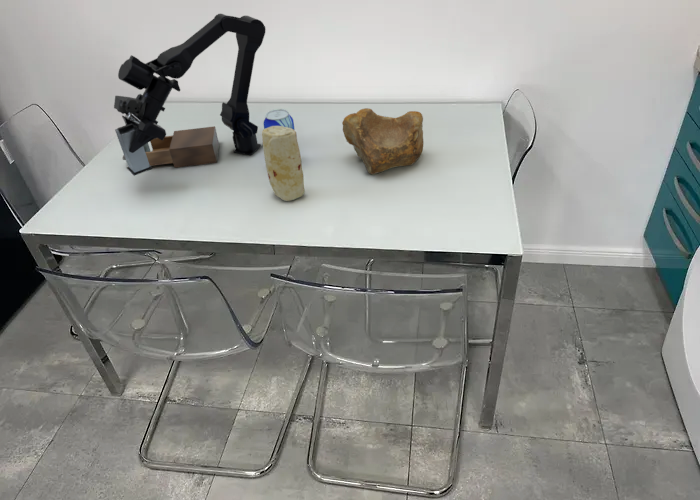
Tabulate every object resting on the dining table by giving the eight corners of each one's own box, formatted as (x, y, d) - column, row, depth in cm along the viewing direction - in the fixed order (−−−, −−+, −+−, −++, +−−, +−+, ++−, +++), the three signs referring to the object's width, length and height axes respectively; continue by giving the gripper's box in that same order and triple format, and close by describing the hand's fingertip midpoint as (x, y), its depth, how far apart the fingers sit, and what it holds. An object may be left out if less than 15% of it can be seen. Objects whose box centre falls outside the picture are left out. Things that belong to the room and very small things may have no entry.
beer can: (305, 162, 166) (298, 112, 157) (283, 174, 162) (275, 123, 152) (286, 154, 171) (278, 105, 161) (265, 166, 167) (255, 115, 157)
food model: (308, 190, 154) (299, 122, 142) (302, 203, 149) (292, 135, 137) (274, 188, 156) (263, 121, 144) (267, 201, 151) (254, 133, 139)
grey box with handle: (145, 161, 159) (131, 119, 151) (152, 168, 156) (138, 126, 148) (126, 168, 157) (111, 126, 149) (134, 175, 153) (118, 132, 146)
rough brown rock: (340, 182, 158) (337, 136, 148) (345, 149, 170) (342, 104, 160) (423, 183, 156) (426, 136, 146) (422, 149, 168) (425, 104, 158)
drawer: (124, 170, 169) (119, 156, 166) (131, 153, 177) (126, 139, 175) (180, 163, 170) (176, 150, 167) (184, 146, 178) (180, 133, 176)
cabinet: (174, 167, 170) (169, 149, 166) (179, 148, 179) (174, 130, 175) (216, 162, 170) (212, 144, 166) (219, 144, 180) (215, 126, 176)
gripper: (114, 74, 150) (87, 125, 152) (140, 93, 138) (111, 149, 140) (150, 93, 158) (125, 142, 160) (178, 113, 146) (151, 165, 148)
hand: (127, 149), depth 152 cm, fingers closed on grey box with handle, 4 cm apart
